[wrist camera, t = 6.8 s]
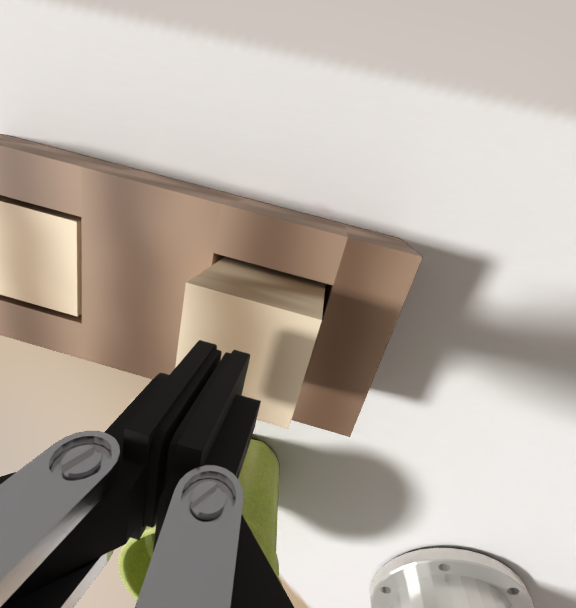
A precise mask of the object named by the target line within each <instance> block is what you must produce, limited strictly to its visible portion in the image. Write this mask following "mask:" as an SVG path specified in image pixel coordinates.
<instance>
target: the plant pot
mask: <svg viewBox="0 0 576 608" xmlns="http://www.w3.org/2000/svg"><path fill="white" fill-rule="evenodd" d="M279 471H280V470H279V463H278V460H277V458H276V456H275V454H274V453H273V451H272V450H271V449H270V448H269V447H268V446H267V445H266V444H265V443H263V442H262V441H256V440H253V439H251V441H250V444H249V447H248V450H247V454H246V457H245V460H244V463H243V466H242V469H241V472H240V475H239V479H238V480H239V481H240V484H241V486H242V489H243V506H242V515H243V517H244V519H245V521H246V522H247V524H248V526H249V528H250V530H251V531H252V533H253V535H254V537H255V538H256V540H257V542H258V544H259V546H260V547H261V549H262V551H263V553H264V555H265V556H266V558H267V560H268V562H269V563H270V565H271V567H272V569H273V571H274V572H275V574H276V576H277V578H278V580H279V581H280V579H279V564H278V559H277V555H276V537H277V509H278V492H279ZM155 529H156V524H155V526H154V527H153V528H151V527H148V526H147V527H146V529H145V530H144V532H143V534H142V536H141V538H140V540H136V539H133V538H129V540H128V542H127V543H126V544H125V545H124V546H123V547H122V549H121V551H120V555H119V558H118V568H119V572H120V576H121V578H122V580H123V583H124V585H125V587H126V588H127V590H128V591H129V592H130V593H131V595H132V596H133V597H134V598H135V599H136V601H137V600H138V597H139V594H140V591H141V588H142V585H143V582H144V579H145V576H146V573H147V570H148V567H149V564H150V561H151V558H152V555H153V546H154V538H155ZM280 583H281V581H280ZM281 585H282V583H281ZM282 587H283V586H282Z"/></svg>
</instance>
